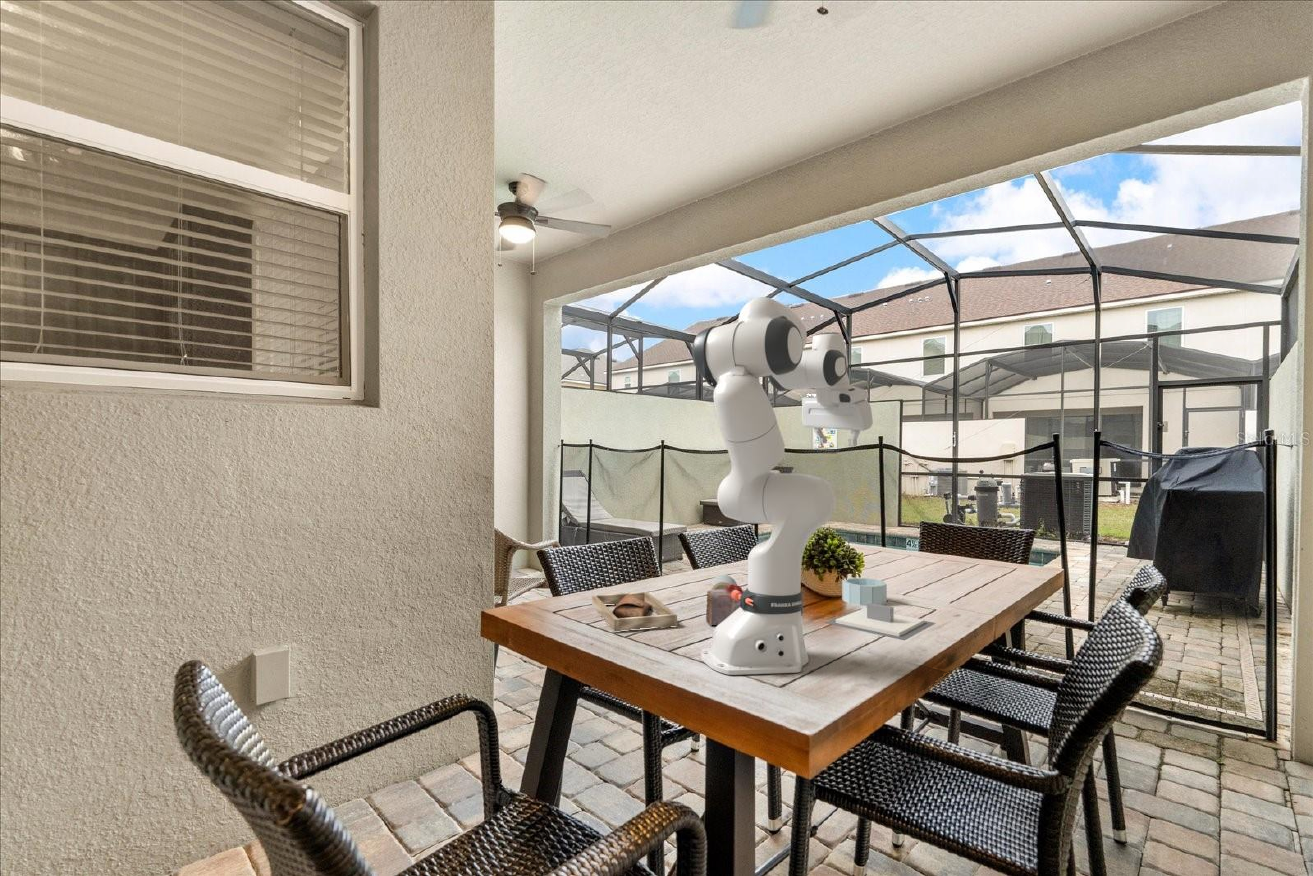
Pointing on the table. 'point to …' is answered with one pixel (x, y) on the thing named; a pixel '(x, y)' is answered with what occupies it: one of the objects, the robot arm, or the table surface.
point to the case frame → (618, 624)
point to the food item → (721, 604)
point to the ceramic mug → (722, 582)
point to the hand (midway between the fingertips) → (837, 444)
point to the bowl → (864, 591)
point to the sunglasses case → (631, 607)
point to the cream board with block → (880, 620)
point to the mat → (902, 637)
